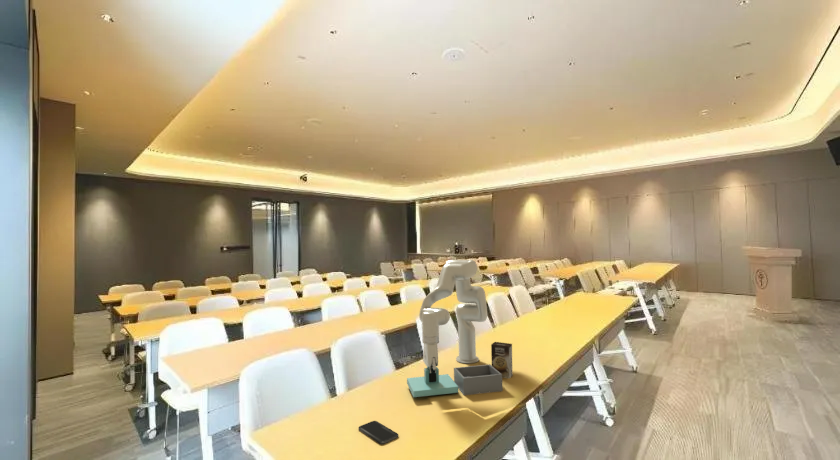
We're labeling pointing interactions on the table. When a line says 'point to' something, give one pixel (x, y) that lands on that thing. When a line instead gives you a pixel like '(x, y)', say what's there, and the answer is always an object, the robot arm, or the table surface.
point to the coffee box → (502, 358)
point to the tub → (478, 379)
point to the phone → (378, 432)
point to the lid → (431, 385)
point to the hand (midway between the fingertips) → (431, 379)
